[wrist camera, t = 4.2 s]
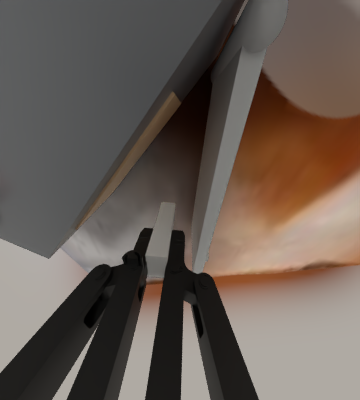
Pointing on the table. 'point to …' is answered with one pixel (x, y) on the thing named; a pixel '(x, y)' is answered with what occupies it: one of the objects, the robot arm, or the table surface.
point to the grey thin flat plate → (230, 113)
